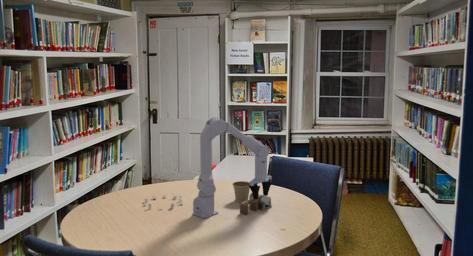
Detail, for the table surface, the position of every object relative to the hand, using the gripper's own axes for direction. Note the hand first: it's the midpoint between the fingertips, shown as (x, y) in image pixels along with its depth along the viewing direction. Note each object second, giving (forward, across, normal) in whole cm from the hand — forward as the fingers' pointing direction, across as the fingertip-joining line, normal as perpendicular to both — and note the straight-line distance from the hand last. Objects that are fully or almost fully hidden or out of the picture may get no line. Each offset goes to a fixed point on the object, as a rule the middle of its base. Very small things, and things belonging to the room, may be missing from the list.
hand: (260, 197), depth 207 cm
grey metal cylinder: (+1, 0, 0) cm, 1 cm away
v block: (+5, 0, 0) cm, 5 cm away
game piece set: (+6, -28, +39) cm, 48 cm away
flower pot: (+5, +2, +13) cm, 14 cm away
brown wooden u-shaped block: (+5, -9, 0) cm, 10 cm away
